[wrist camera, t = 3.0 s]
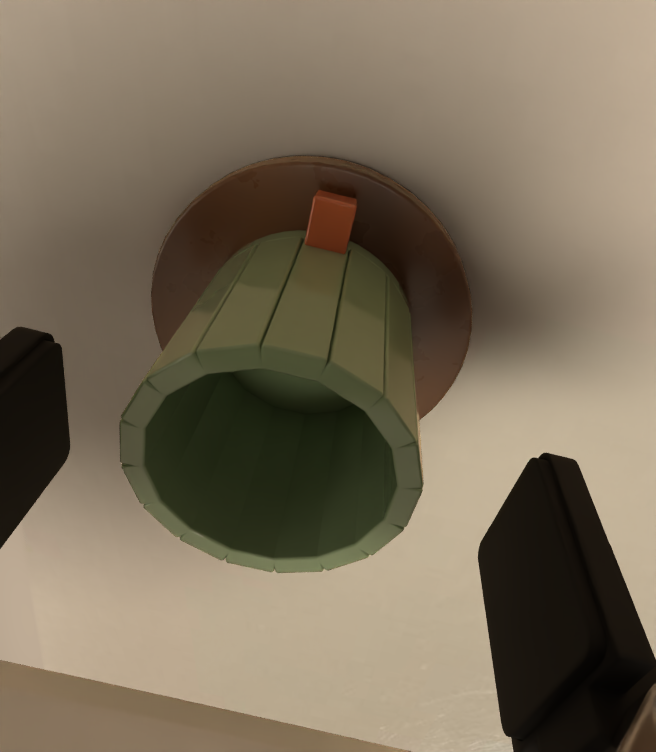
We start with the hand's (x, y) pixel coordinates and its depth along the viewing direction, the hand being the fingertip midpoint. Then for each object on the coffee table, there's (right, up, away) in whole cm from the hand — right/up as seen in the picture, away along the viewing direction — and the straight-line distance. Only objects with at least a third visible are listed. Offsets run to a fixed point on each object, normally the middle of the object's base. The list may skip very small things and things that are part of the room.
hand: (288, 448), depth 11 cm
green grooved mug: (0, +3, +5) cm, 6 cm away
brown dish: (0, +3, +5) cm, 6 cm away
